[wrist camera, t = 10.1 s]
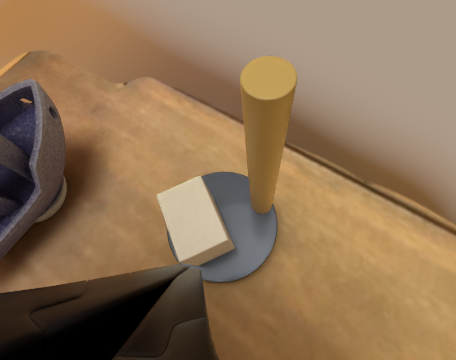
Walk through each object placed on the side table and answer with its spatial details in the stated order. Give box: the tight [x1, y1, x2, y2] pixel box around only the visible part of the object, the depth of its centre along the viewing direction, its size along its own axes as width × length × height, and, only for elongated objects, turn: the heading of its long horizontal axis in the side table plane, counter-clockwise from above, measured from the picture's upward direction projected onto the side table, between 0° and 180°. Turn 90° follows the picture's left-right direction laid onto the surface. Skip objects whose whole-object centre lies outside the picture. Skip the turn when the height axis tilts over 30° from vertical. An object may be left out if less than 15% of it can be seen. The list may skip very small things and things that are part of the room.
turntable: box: [157, 56, 297, 283], centre depth 13 cm, size 8×8×14 cm
